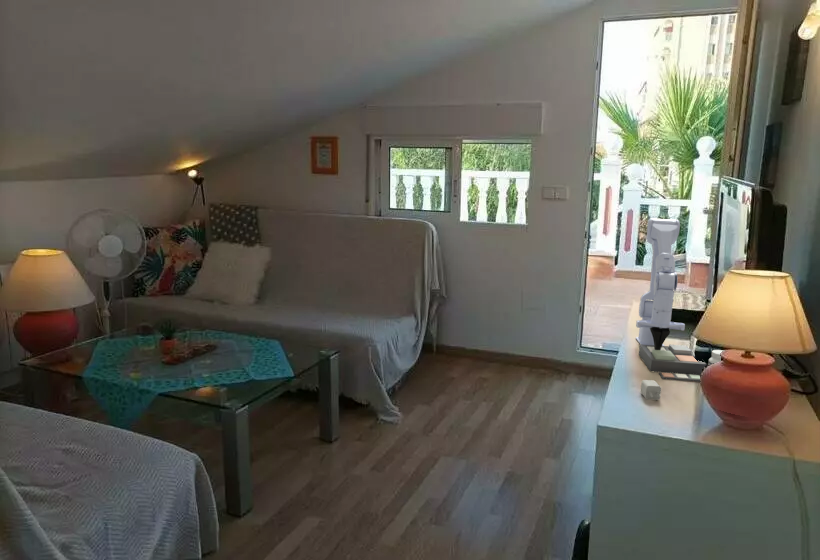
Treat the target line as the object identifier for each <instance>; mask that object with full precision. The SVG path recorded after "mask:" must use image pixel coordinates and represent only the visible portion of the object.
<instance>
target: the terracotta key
mask: <svg viewBox="0 0 820 560" xmlns="http://www.w3.org/2000/svg"><path fill="white" fill-rule="evenodd" d="M675 357H676V358H677V359H678V360H679V361H689V362H698V361H697V360H696V359H695V358H694V357H693V356H685V355H675Z"/></svg>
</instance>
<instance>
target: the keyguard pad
mask: <svg viewBox="0 0 820 560" xmlns="http://www.w3.org/2000/svg"><path fill="white" fill-rule="evenodd" d="M647 346H648V347H654V345H642V344H640V343H639V347H638V348H639V349H638V356H639V357H640V359H641V360H642V362H643V363H644V365H645V366H646V367H647V369H648V370H649V372H650V371H654V372H653V373H673V374H687V375H700V374H701V372H702V369H703V368H704V367H705V366H706V367H707V363H706V362H705V361H704V362H702V361H699V360H698V362H689V361H679V360H678V359H677V358H676V357H675V361H674V360H660V359H655V358H654V356H653V355H652V352H650V351H649V350H648V349H647ZM662 347H663V348H665V350H666V351H670V350H669V345H664V346H662ZM688 348H689V349H690V350H691V351H692V350H693V349H692V348H691V347H688ZM672 354H673V353H672ZM673 355H674V356H675V355H685V356H693V357H694V355H693V352H691V355H688V354H673Z"/></svg>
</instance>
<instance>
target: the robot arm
mask: <svg viewBox="0 0 820 560" xmlns="http://www.w3.org/2000/svg"><path fill="white" fill-rule="evenodd" d="M647 221H648V222H647V227H646V242H647V243H649V244H650V245H651V247H652V255H651V259H652V260H651V268H650V281H649V282H650V283H649V291H647V292H645V293H643V294H642V296H641V297H640V301H639V305H638V306H639V307H638V316H639V317H640V318H641V320H635V321H636V323H635V327H636V328H639V331H638V336H635V339H636V341H637V342H638V343H639V345H640V344H642V345H654V349H655V350H661V347H662V346H665V344H664V343H665V341H666V340H667V338H668V336H669V335H670V333H671V331H670V330H677V331H678V330H679V331H683V332H684V331H685V327H686V324H685V323H683V322H674V321H671V320H672V311H673V303H674V295H675V292H676V290H677V289H678V281H679V279H678V273H677V270H676V263H675V262H676V261H675V260H676V259H675V258H676V257H675V256H674V255H673V254H671V253H672V245H674V244H675V243H676V241H677V239H678V237H679V234H680V231H681V230H680V228H681V222H680V220H679V219H669V218H668V219H667V218H652V217H650V218H649V219H648V220H647Z"/></svg>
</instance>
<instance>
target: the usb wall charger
mask: <svg viewBox="0 0 820 560" xmlns="http://www.w3.org/2000/svg"><path fill="white" fill-rule="evenodd" d="M640 393H641V395H643V397H644V398H645V400H651V399H653V401H659V400H660V399H661V393H662V387H661V385H659V384H658V382H657V381H656V380H652V379H642V381H641V384H640Z"/></svg>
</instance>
